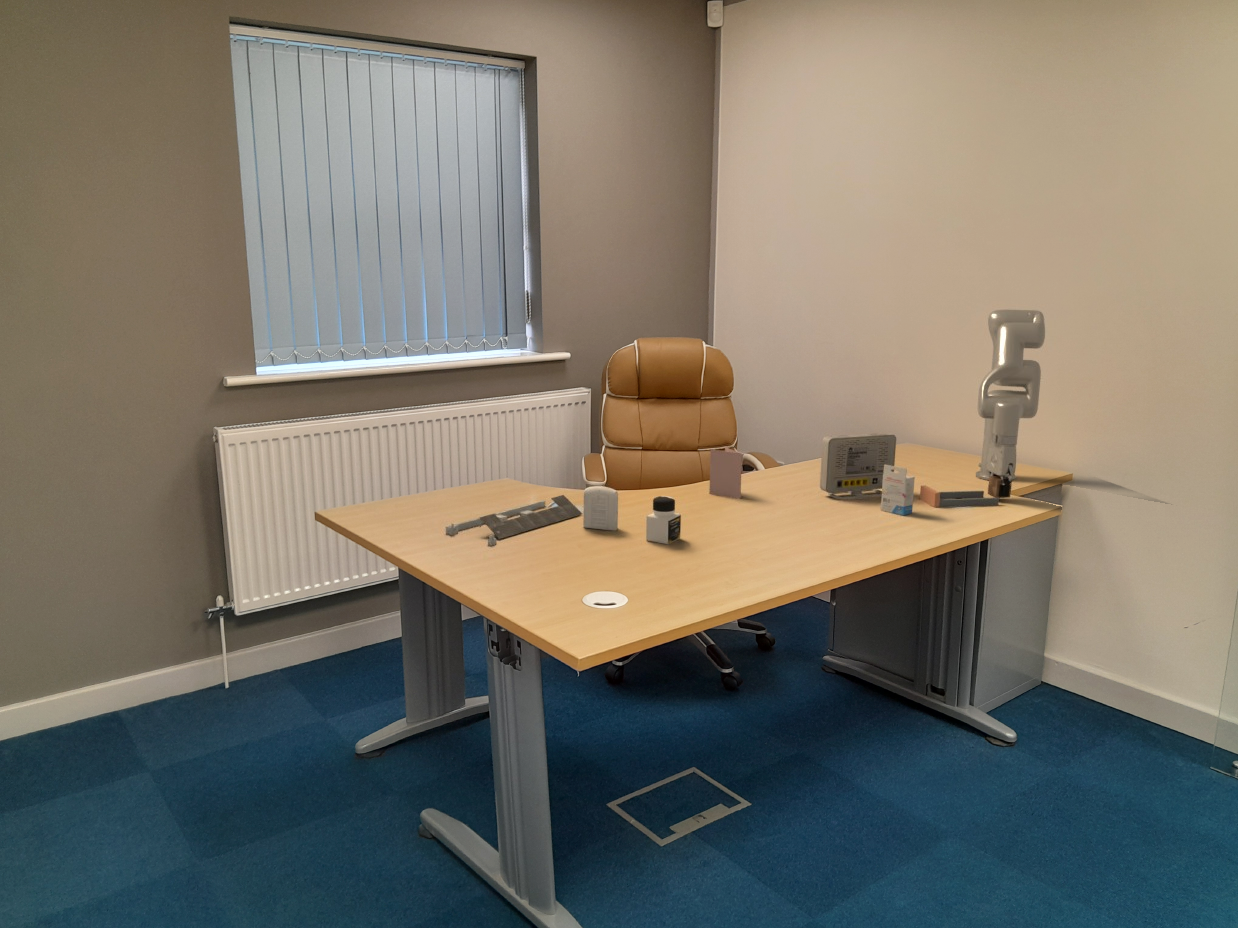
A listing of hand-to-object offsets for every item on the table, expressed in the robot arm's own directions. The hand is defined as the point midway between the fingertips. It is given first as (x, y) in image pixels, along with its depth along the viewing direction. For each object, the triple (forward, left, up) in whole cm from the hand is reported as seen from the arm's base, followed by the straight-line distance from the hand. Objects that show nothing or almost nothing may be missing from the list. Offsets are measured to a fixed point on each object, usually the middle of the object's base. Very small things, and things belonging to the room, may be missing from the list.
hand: (999, 493), depth 300 cm
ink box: (+10, -39, -3) cm, 41 cm away
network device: (-12, -43, -3) cm, 45 cm away
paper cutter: (+8, -154, -3) cm, 154 cm away
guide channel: (+1, -13, -2) cm, 14 cm away
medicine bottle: (+30, -116, -3) cm, 120 cm away
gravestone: (+17, -132, -3) cm, 133 cm away
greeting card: (-16, -87, -2) cm, 89 cm away
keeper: (0, 0, -1) cm, 1 cm away
